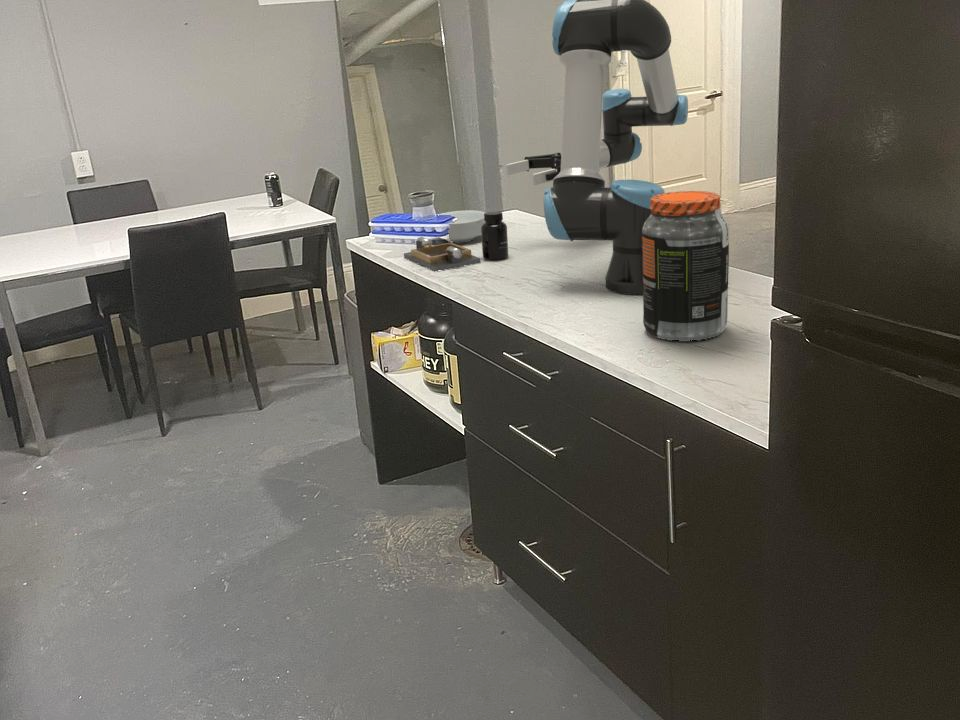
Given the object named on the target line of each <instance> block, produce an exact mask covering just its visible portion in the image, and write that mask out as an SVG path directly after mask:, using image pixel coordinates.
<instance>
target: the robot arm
mask: <svg viewBox="0 0 960 720" xmlns="http://www.w3.org/2000/svg"><path fill="white" fill-rule="evenodd" d="M552 22H553V23H552V30H551V36H552V37H551V38H552V42H551V44H552V49H553V52H554V53H555V54H556V55H557V56H559V62H560V63H561V64H562V65H563V66H564V67H565V75H564V77H565V78H564V96H563V113H562V114H563V115H562V117H563V118H562V134H561V152H557V153H556V152H555V153H550V154H542V155H533V156H532V155H531V156H525V157H524V159H523V160H520V161H515V162H511V163H507V164H505V173H506V175H507V176H510V175H514V174H519V173H522V172H529V171H530V170H531V169H548V168H549V169H548V170H543V171H540V172H535V173H532V185H534V186H537V185H541V184H545V183H550V182H552V187H548V188H546V189H545V190H544V195H543V213H544V219H545V223H546V228H547V231H548V233H549V235H551V237H553V239H556V240H559V241H561V240H563V241H570V242H573V241H612V242H611V243H612V255H611V258H610V262H609V263H608V264H609V265H608V268H607V271H606V275H605V288H606V289H607V290H608V291H610V292H613V293H618V294H621V295H622V294H623V295H643V252H642V229H643V225H644V223H645V221H646V220H647V218H648V217H649V216H650V215H651V213H652V212H651V209H650V206H651V198H652V197H653V196H655V195H659V194H663V193H666V192H665V189H664V188H663V187H662V186H661V185H660V184H657V183H654V182H651V181H648V180H647V181H646V180H640V179H617V180H614V181H612V183H611V185H610V187H605V186H606V184H605V183H606V179H604V178H603V176H601V174H600V173H599V172H600V171H601V170H603V169H606V168H610V167H612V166H619V165H621V164H623V165H624V164H627V163H629V162H633V161H635V160H637V159H638V158H639V157H640V156H641V154H642V150H643V146H642V144H643V143H641V139H640V136H639V135H638V134H637V133H635V132H633V129H632V128H633V127H634V128H635V127H657V126H658V127H661V126H663V127H664V126H665V127H667V126H670V127H673V126H677V125H679V126H680V125H684V124H686V123H687V121H688V117H689V115H688V114H689V100H688V96H687V95H684V94H678V91H677V86H676V82H675V81H676V80H675V75H674V70H673V65H672V59H671V55H670V47H671V43H672V35H671V29H670V26H669V24H668V22H667V20H666V18H665V17H664V15H663V14H662V13H661V12H660V10H658V8H657V7H655V6H654V5H653V4H651V3H650V2H649V1H647V0H565V1H563V2H561V4H560V5H559V6H558V7H557V9H556V12H555V15H554V19H553V21H552ZM622 51H623V52H624V51H626V52H627V51H629V52H630V53H631V55H632V56H633V57H634V58H635V59H636V61H637V66H638V70H639V74H640V77H641V81H642V84H643V88H644V93H645V96H632V93H631V91H630V90H629V89H627V88H614V89H609V90H607V91H605V92H604V76H605V75H604V73H605V68H606V67H607V66H608V65H609V64H610V63H611V62H612V54H613V52H622ZM602 125H603V139H601V132H602V131H601V130H602V129H601V128H602ZM550 168H551V169H550Z"/></svg>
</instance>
